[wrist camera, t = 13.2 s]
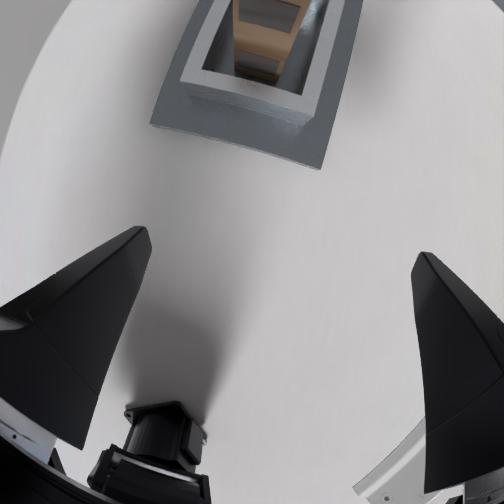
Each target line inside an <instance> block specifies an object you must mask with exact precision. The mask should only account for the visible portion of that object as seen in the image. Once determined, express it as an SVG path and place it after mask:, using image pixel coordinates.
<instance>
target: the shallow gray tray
mask: <svg viewBox="0 0 504 504" xmlns="http://www.w3.org/2000/svg"><path fill="white" fill-rule="evenodd" d="M362 3H363V0H312V1H311V3H310V6H309V8H308V10H307V12H306V15H305V17H304V19H303V22H302V24H301V26H300V29H299V31H298V33H297V36H296V38H295V40H294V43H293V45H292V47H291V50H290V52H289V55H288V57H287V60H286V62H285V64H284V67H283V69H282V72H281V74H280V77H279V79H278V82H277V83H276V82H272V81H269V80H266V79H262V78H259V77H255V76H252V75H248V74H244V73H240V72H236V71H234V39H233V0H200V1H199V3H198V5H197V7H196V9H195V11H194V13H193V15H192V17H191V19H190V21H189V24H188V26H187V28H186V30H185V32H184V34H183V37H182V39H181V41H180V43H179V46H178V48H177V50H176V53H175V55H174V58H173V60H172V62H171V65H170V67H169V70H168V73H167V75H166V78H165V80H164V83H163V86H162V88H161V91H160V94H159V97H158V100H157V103H156V105H155V108H154V111H153V114H152V118H151V121H150V124H151V125H153V126H156V127H161V128H166V129H171V130H175V131H180V132H185V133H189V134H193V135H198V136H202V137H206V138H210V139H214V140H218V141H222V142H226V143H230V144H233V145H237V146H241V147H244V148H248V149H251V150H255V151H258V152H262V153H265V154H269V155H272V156H275V157H278V158H282V159H285V160H288V161H291V162H294V163H297V164H300V165H303V166H306V167H309V168H312V169H315V170H321V166H322V163H323V160H324V156H325V152H326V149H327V145H328V142H329V138H330V135H331V131H332V127H333V124H334V120H335V116H336V112H337V109H338V105H339V101H340V97H341V93H342V89H343V85H344V81H345V77H346V73H347V69H348V65H349V61H350V57H351V53H352V48H353V44H354V40H355V35H356V31H357V26H358V22H359V17H360V12H361V8H362Z"/></svg>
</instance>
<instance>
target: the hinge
mask: <svg viewBox="0 0 504 504" xmlns="http://www.w3.org/2000/svg"><path fill="white" fill-rule="evenodd" d="M425 452H426V425H425V417H424V418H423V420H422V421H421V422H420V423H419V424H418V425H417V426H416V427H415V429H414V430H413V431H412V432H411V433H410V434H409V435H408V436H407V437H406V438H405V439H404V440H403V442H402V443H401V444H400V445H399V446H398V447H397V448H396V449H395V450H394V451H393V452H392V453H391V454H390V455H389V456H388V457H387V458H386V459H384V460H383V461H382V462H381V463H380V464H379V465H378V466H377V467H376V468H375V469H374V470H373V471H371V472H370V473H369V474H368V475H367V476H366V477H365V478H363V479H362V480H361V481H360V482H359V483H357V484H356V485H355V486H354V487H353V489H354V491H355V492H356V493H357V495H358V496H360V497H364V498H366V499H367V500H368V501H369V502H370V503H371V504H427V503H429V502H430V501H432V500H433V499H434V498H436V497H437V496H438V495H439V494H440V493H441V492H442V491H443V490H440V491H436V492H432V493H428V494H424V478H425ZM444 490H445V489H444Z"/></svg>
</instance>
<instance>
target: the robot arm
mask: <svg viewBox="0 0 504 504" xmlns="http://www.w3.org/2000/svg"><path fill="white" fill-rule="evenodd" d="M151 252H152V246H151V242H150V238H149V234H148V230H147V228H146V227H144V226H134V227H132V228H130V229H128V230H126V231H125V232H123V233H121V234H119V235H118V236H116V237H114V238H112V239H111V240H109V241H107V242H105V243H104V244H102V245H100V246H99V247H97V248H95V249H94V250H92V251H90V252H89V253H87V254H85V255H84V256H82V257H80V258H79V259H77V260H75V261H74V262H72V263H71V264H69V265H67V266H66V267H64V268H63V269H61V270H60V271H58V272H56V274H53V275H52V276H50V277H49V278H47V279H46V280H44V281H42V282H41V283H39V284H38V285H36V286H35V287H33V288H31V289H30V290H28V291H26V292H25V293H23V294H21V295H20V296H18V297H16V298H15V299H13V300H11V301H10V302H8V303H6V304H5V305H3V306H2V307H0V504H211V496H210V487H209V478H208V476H207V475H203V474H202V475H199V474H195V469H196V465H199V464H200V463H201V454H202V446H205V445H206V444H207V440H206V438H205V437H204V434H203V432H202V431H201V430H200V428H199V427H198V425H197V424H196V422H195V421H194V420H193V419H192V418H191V417H190V416H189V414H188V413H187V411H186V410H185V408H184V407H183V405H182V404H181V403H180V402H177V401H174V402H169V403H164V404H158V405H153V406H147V407H140V408H134V409H127V410H125V412H124V416H125V417H126V418H127V420H128V421H129V422H130V423H131V425H132V426H131V428H130V431H129V434H128V436H127V439H126V442H125V444H124V447H123V449H121V448H119V447H117V446H116V445H114V444H111V446H110V448H109V449H107V450H103V451H102V453H101V455H100V458H99V460H98V462H97V464H96V466H95V467H94V469H93V470H92V471H91V473H90V474H89V476H88V478H87V483H88V485H89V486H90V488H91V489H90V488H88V487H86V486H84V485H82V484H80V483H78V482H76V481H75V480H73V479H71V478H69V477H67V476H66V474H65V471H64V469H63V466H62V464H61V461H60V458H59V456H58V453H57V450H56V448H54V445H55V442H56V440H57V438H59V439H61V440H62V441H64V442H66V443H68V444H70V445H72V446H74V447H76V448H78V449H80V450H83V448H84V444H85V441H86V437H87V433H88V430H89V427H90V423H91V420H92V417H93V413H94V410H95V407H96V404H97V401H98V396H99V394H100V391H101V388H102V385H103V382H104V379H105V376H106V373H107V371H108V368H109V365H110V362H111V359H112V357H113V354H114V351H115V349H116V346H117V343H118V341H119V338H120V336H121V333H122V330H123V328H124V325H125V323H126V320H127V318H128V315H129V313H130V311H131V308H132V306H133V303H134V301H135V299H136V296H137V294H138V291H139V289H140V286H141V283H142V280H143V277H144V273H145V270H146V267H147V264H148V261H149V258H150V255H151ZM411 282H412V291H413V303H414V315H415V323H416V329H417V335H418V342H419V350H420V357H421V366H422V376H423V387H424V401H425V425H426V452H425V478H424V494H428V493H432V492H436V491H440V490H444V489H448V488H451V487H455V486H458V485H462V484H463V495H460V496H457V497H453V498H450V499H449V500H448V501H447V503H446V504H504V323H503V322H502V321H501V320H500V319H499V318H497V316H496V315H495V313H494V312H493V311H492V310H491V309H490V308H489V307H488V306H487V305H486V304H485V303H484V302H483V301H482V300H481V299H480V298H479V297H478V296H477V295H476V294H475V293H474V292H473V291H472V290H471V289H470V288H469V287H468V286H467V285H466V284H465V283H464V282H463V281H462V280H461V279H460V278H459V277H458V276H457V275H456V274H455V273H454V272H452V271H451V270H450V269H449V268H448V267H447V266H446V265H445V264H444V263H443V262H442V261H441V260H439V259H438V258H437V257H436V256H435V255H434V254H433V253H431V252H420V253H419V255H418V257H417V259H416V262H415V264H414V267H413V269H412V272H411ZM175 406H178V407H175ZM129 414H130V415H129Z"/></svg>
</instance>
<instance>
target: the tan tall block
mask: <svg viewBox="0 0 504 504" xmlns="http://www.w3.org/2000/svg"><path fill="white" fill-rule="evenodd" d="M311 1H312V0H233V39H234V71H236V72H240V73H244V74H248V75H252V76H255V77H259V78H262V79H266V80H269V81H272V82H276V83H277V82H278V79H279V77H280V74H281V72H282V69H283V67H284V64H285V62H286V60H287V57H288V55H289V52H290V50H291V47H292V45H293V43H294V40H295V38H296V36H297V33H298V31H299V29H300V26H301V24H302V22H303V19H304V17H305V15H306V12H307V10H308V8H309V6H310V3H311Z"/></svg>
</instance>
